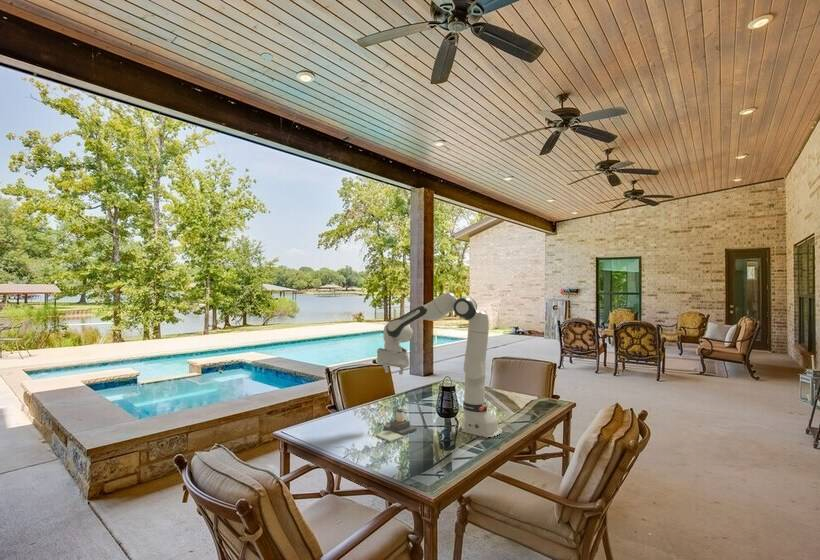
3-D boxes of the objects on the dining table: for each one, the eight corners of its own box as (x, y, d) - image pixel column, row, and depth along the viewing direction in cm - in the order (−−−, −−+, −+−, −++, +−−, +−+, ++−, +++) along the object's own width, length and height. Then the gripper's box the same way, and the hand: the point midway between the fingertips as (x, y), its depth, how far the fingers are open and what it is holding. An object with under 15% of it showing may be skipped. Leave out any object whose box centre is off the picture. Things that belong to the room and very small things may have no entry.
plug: (405, 426, 214) (406, 409, 214) (399, 428, 211) (400, 411, 211) (400, 424, 217) (400, 408, 217) (394, 426, 214) (394, 409, 214)
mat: (403, 437, 202) (403, 436, 202) (390, 442, 196) (390, 440, 196) (388, 431, 210) (389, 430, 210) (375, 436, 204) (375, 434, 204)
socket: (416, 430, 213) (416, 422, 213) (401, 435, 205) (401, 426, 205) (398, 423, 223) (398, 415, 223) (383, 428, 215) (383, 420, 215)
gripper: (380, 345, 224) (381, 369, 217) (409, 350, 235) (411, 373, 228) (374, 349, 228) (375, 373, 221) (403, 354, 240) (405, 376, 232)
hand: (394, 373), depth 225 cm, fingers open, 8 cm apart
